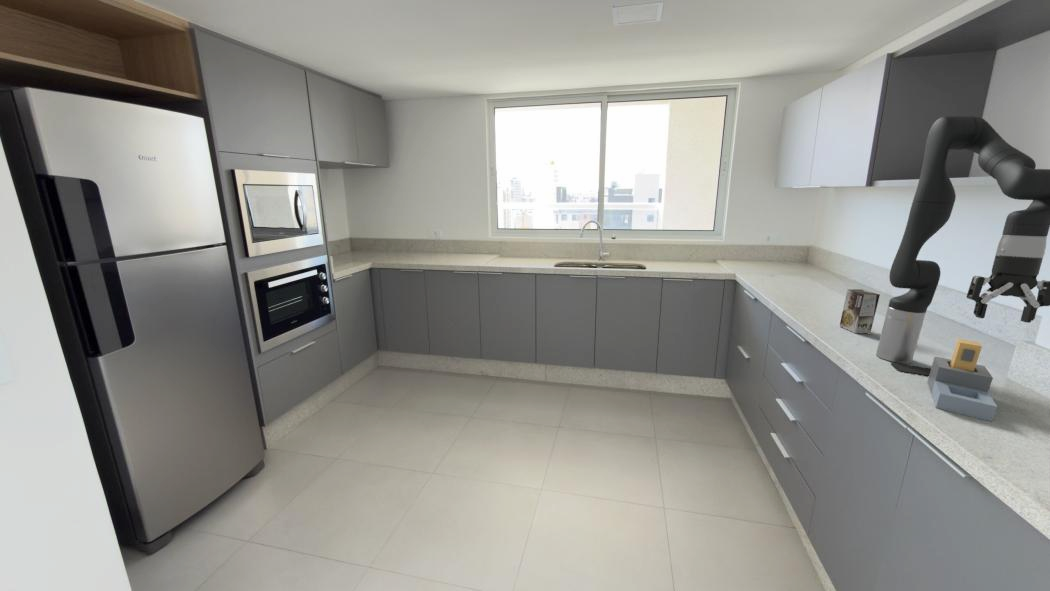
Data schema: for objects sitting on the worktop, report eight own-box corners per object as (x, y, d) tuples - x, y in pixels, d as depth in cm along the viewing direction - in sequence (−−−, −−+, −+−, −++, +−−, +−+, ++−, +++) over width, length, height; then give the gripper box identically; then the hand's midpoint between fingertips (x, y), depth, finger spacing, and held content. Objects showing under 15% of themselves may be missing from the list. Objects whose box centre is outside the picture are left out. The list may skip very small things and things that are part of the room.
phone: (889, 362, 136) (950, 370, 130) (889, 364, 136) (949, 373, 130) (898, 370, 129) (962, 380, 123) (897, 373, 129) (961, 382, 123)
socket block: (927, 381, 123) (934, 356, 121) (975, 392, 117) (984, 366, 115) (935, 407, 107) (944, 379, 105) (992, 421, 101) (1002, 391, 99)
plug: (947, 372, 117) (958, 338, 115) (967, 376, 115) (978, 342, 112) (950, 377, 114) (961, 343, 111) (971, 382, 111) (982, 347, 109)
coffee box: (871, 334, 164) (881, 294, 160) (854, 333, 164) (864, 294, 160) (853, 326, 173) (862, 289, 169) (838, 326, 173) (846, 288, 169)
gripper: (1047, 255, 102) (1029, 320, 105) (971, 251, 107) (956, 313, 110) (1073, 258, 95) (1053, 327, 98) (989, 253, 100) (973, 319, 103)
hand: (1001, 319), depth 104 cm, fingers open, 8 cm apart
